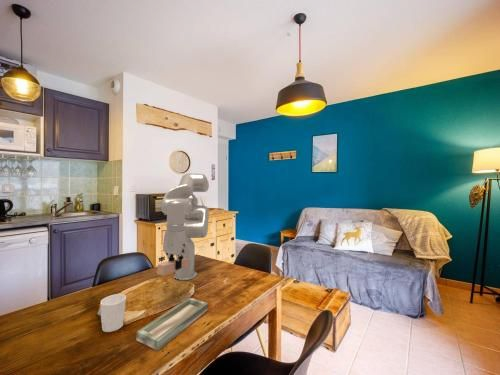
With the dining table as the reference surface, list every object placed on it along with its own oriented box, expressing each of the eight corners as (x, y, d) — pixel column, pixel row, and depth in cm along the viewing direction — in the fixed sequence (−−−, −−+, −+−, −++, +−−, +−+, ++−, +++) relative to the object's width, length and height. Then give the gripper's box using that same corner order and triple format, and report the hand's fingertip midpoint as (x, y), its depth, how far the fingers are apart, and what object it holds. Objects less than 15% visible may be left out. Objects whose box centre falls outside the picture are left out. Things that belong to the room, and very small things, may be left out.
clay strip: (156, 273, 94) (157, 264, 94) (183, 265, 108) (184, 257, 109) (162, 275, 92) (163, 265, 93) (188, 267, 107) (189, 258, 107)
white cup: (98, 336, 76) (99, 307, 76) (101, 323, 83) (102, 296, 83) (124, 329, 80) (125, 302, 80) (125, 317, 87) (126, 292, 87)
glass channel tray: (136, 340, 74) (136, 331, 74) (189, 304, 98) (189, 297, 98) (157, 350, 70) (158, 341, 70) (207, 310, 94) (207, 303, 93)
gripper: (155, 227, 100) (155, 267, 101) (183, 231, 93) (183, 274, 94) (168, 224, 107) (167, 262, 108) (195, 228, 100) (194, 268, 101)
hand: (174, 267), depth 101 cm, fingers closed on clay strip, 3 cm apart
